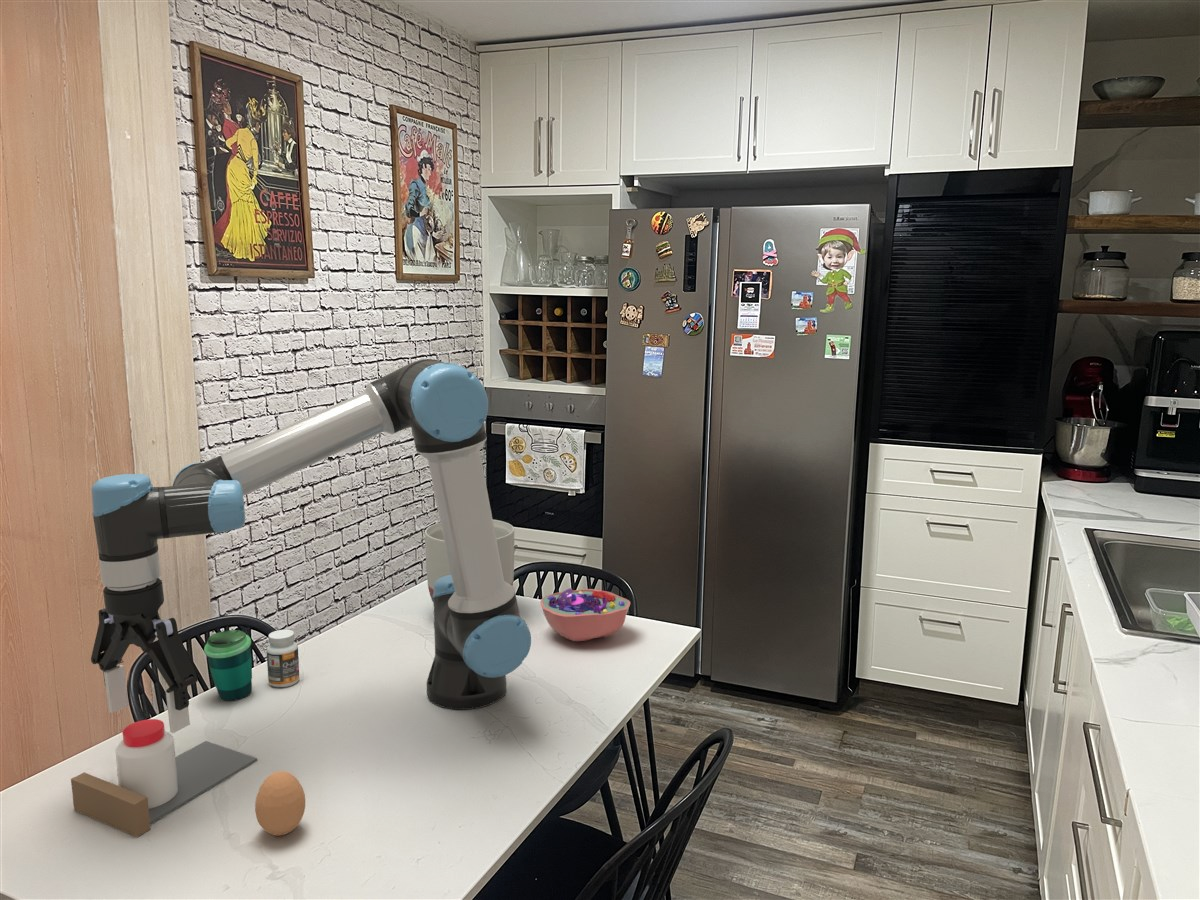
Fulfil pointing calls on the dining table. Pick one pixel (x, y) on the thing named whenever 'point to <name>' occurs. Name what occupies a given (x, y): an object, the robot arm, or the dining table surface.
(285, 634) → the pill bottle
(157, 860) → the dining table surface
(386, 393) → the robot arm
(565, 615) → the cell model
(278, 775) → the egg
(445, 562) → the planter
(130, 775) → the pill bottle
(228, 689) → the cup
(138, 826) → the track
